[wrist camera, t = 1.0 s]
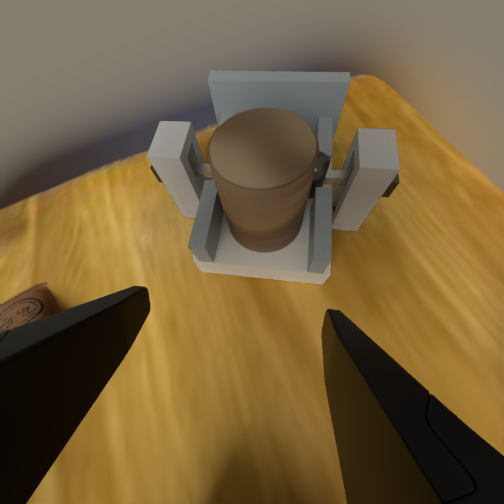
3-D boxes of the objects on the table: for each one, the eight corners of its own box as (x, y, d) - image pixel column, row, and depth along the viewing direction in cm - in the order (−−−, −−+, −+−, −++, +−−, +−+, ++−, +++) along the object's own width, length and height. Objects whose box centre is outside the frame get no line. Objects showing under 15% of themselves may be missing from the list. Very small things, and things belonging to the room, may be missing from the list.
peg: (287, 263, 20) (298, 205, 12) (216, 238, 21) (186, 172, 13) (311, 200, 22) (333, 118, 14) (245, 181, 23) (233, 96, 16)
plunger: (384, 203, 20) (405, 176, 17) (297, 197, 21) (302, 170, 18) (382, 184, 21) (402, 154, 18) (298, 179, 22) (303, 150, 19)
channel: (359, 288, 21) (415, 246, 13) (170, 268, 23) (115, 220, 15) (354, 159, 27) (391, 72, 19) (202, 151, 29) (175, 70, 21)
